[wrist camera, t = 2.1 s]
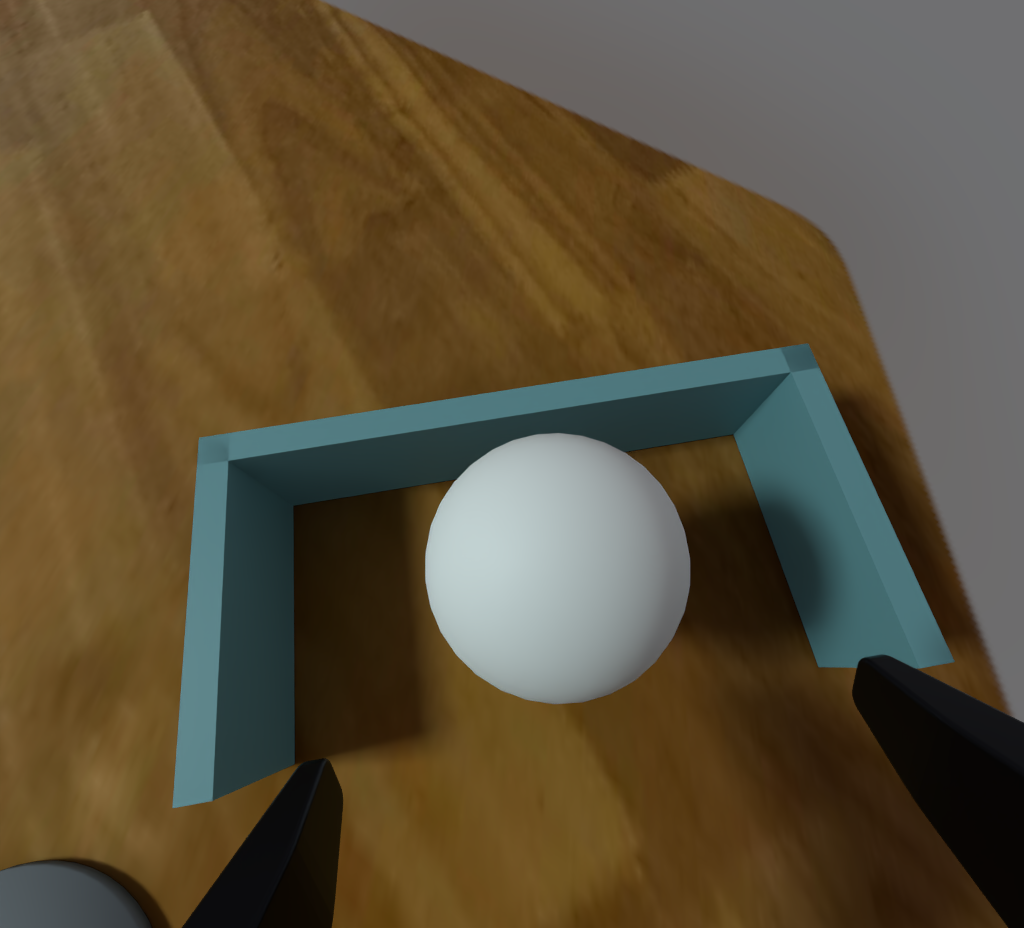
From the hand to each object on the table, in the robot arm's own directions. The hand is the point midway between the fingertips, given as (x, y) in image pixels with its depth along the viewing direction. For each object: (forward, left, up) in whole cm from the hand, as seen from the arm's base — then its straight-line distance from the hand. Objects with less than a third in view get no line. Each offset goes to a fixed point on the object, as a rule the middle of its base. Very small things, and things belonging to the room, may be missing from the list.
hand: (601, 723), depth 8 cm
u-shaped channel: (+4, -2, -10) cm, 11 cm away
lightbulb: (+3, -1, -11) cm, 11 cm away
